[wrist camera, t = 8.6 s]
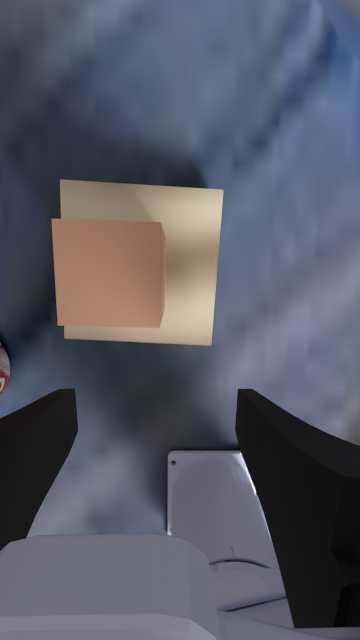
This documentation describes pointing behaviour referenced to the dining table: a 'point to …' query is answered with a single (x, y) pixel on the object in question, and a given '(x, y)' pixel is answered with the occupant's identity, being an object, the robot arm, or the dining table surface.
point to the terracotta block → (109, 272)
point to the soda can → (4, 369)
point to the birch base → (181, 252)
